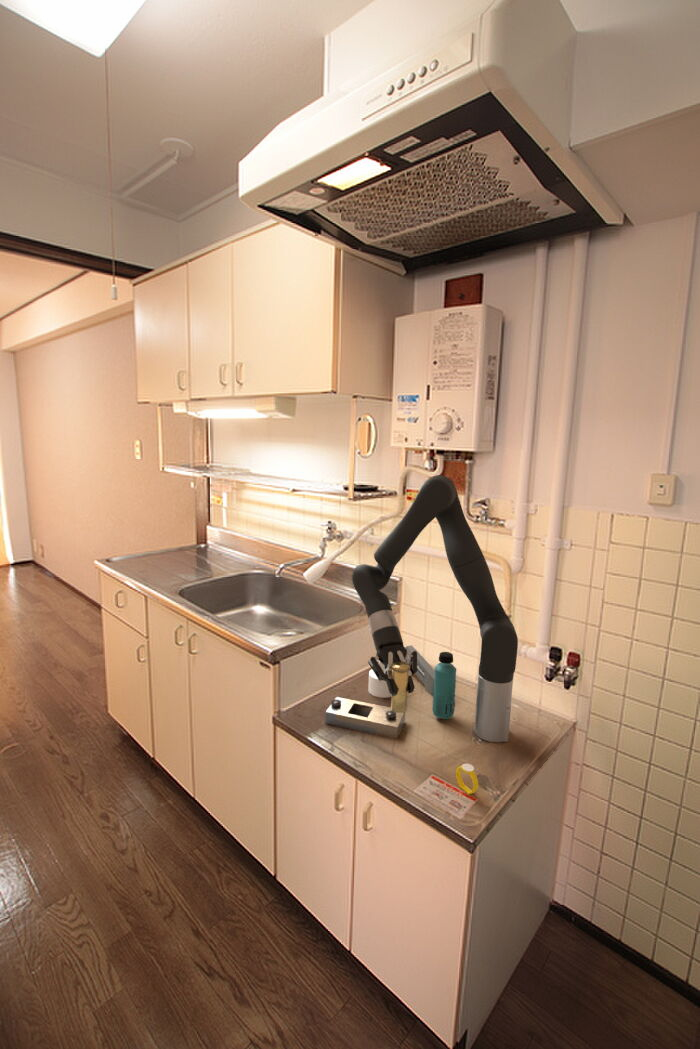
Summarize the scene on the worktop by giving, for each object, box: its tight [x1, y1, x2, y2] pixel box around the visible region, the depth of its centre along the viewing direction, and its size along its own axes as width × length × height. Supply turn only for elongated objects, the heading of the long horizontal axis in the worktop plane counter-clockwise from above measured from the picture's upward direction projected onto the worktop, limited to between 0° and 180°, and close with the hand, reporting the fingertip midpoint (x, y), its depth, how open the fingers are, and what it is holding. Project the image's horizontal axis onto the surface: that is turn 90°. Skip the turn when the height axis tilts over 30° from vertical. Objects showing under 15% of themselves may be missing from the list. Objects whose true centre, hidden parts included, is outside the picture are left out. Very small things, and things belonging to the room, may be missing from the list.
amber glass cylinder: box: [390, 661, 410, 713], centre depth 128 cm, size 5×5×12 cm
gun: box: [404, 644, 435, 696], centre depth 170 cm, size 3×25×15 cm, turn 25°
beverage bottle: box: [431, 651, 457, 720], centre depth 146 cm, size 6×7×20 cm
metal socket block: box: [324, 696, 406, 740], centre depth 143 cm, size 21×9×5 cm, turn 71°
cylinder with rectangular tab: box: [367, 660, 393, 698], centre depth 162 cm, size 9×9×12 cm
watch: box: [455, 763, 479, 795], centre depth 117 cm, size 6×3×6 cm, turn 31°
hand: (403, 693), depth 126 cm, fingers closed on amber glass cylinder, 4 cm apart
